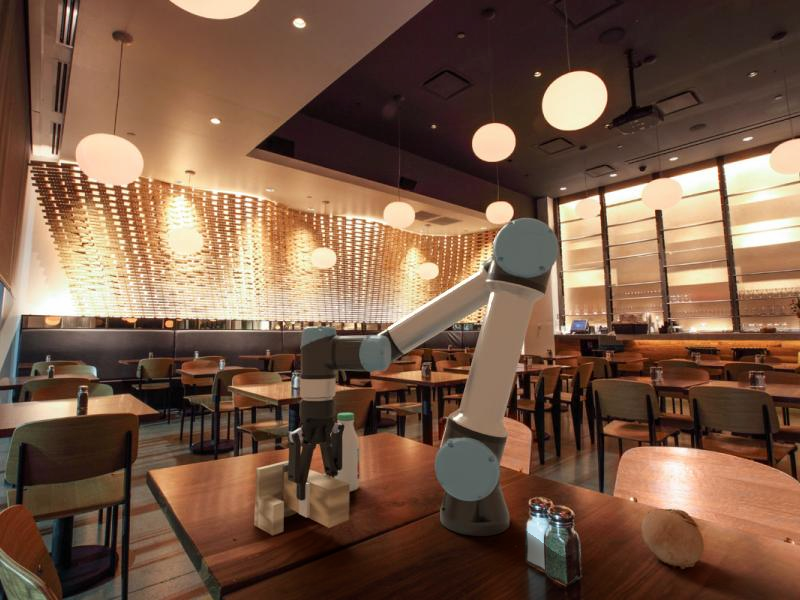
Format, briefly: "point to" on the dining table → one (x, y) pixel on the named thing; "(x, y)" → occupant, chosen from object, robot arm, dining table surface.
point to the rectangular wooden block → (319, 497)
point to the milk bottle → (349, 452)
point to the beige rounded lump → (672, 537)
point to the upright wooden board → (270, 499)
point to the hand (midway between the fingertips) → (315, 510)
